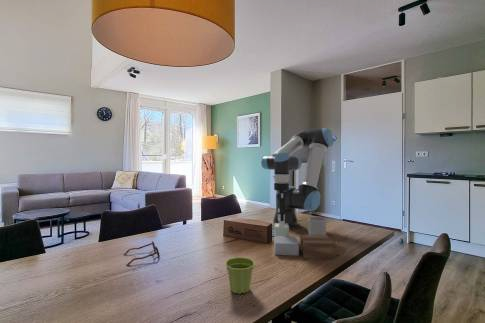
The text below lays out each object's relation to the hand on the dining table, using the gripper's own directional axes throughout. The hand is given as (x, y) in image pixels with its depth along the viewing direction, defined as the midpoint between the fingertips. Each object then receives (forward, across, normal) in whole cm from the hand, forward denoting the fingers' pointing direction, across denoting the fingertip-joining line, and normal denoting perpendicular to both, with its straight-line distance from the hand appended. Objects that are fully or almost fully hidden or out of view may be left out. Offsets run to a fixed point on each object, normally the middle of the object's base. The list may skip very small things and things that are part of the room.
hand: (281, 224), depth 133 cm
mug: (+8, -2, +17) cm, 19 cm away
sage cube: (+8, 0, 0) cm, 8 cm away
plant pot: (+9, +52, -16) cm, 55 cm away
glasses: (+9, +29, -60) cm, 67 cm away
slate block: (+8, +16, +1) cm, 18 cm away
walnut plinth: (+8, +18, +14) cm, 24 cm away
